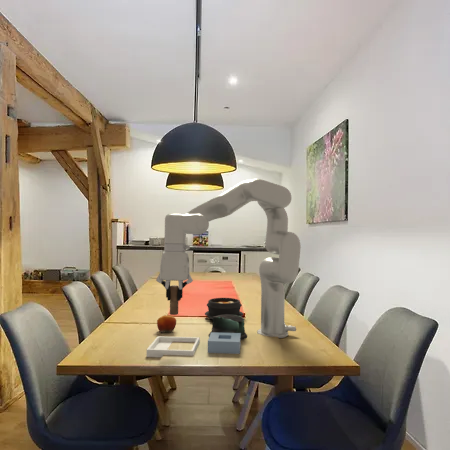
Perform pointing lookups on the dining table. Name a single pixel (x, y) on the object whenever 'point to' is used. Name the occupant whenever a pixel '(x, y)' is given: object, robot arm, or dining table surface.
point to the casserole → (223, 307)
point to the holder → (224, 343)
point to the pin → (173, 300)
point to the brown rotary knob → (229, 325)
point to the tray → (163, 343)
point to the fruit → (166, 323)
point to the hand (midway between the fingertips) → (174, 299)
